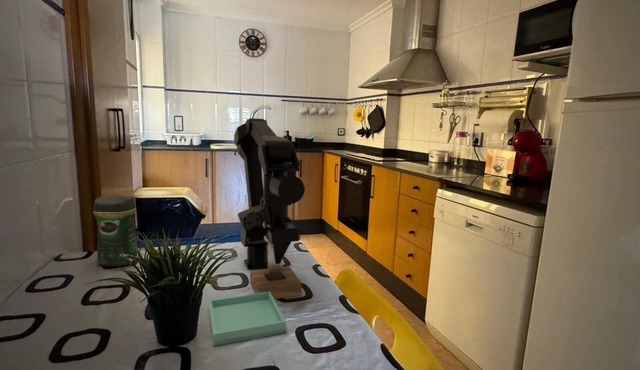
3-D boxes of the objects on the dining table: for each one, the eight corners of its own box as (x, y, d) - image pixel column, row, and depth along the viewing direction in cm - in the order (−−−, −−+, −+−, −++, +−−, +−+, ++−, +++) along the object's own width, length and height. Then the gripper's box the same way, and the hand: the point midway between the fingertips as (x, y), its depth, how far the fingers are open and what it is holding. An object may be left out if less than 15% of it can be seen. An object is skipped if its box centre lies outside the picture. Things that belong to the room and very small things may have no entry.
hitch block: (250, 282, 86) (250, 271, 86) (289, 277, 90) (289, 266, 89) (258, 301, 77) (258, 288, 76) (301, 294, 80) (301, 282, 80)
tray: (208, 309, 73) (208, 299, 72) (269, 300, 77) (269, 291, 77) (213, 346, 61) (213, 334, 60) (285, 332, 65) (286, 321, 65)
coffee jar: (143, 256, 101) (140, 193, 98) (129, 267, 93) (125, 199, 90) (109, 256, 100) (104, 192, 97) (92, 266, 92) (87, 198, 89)
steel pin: (261, 273, 84) (262, 233, 83) (282, 270, 86) (283, 231, 84) (266, 282, 79) (267, 239, 78) (288, 279, 81) (289, 237, 80)
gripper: (234, 189, 85) (234, 250, 88) (247, 205, 68) (247, 280, 71) (278, 187, 89) (278, 246, 92) (301, 202, 72) (300, 273, 75)
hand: (275, 260), depth 82 cm, fingers closed on steel pin, 4 cm apart
